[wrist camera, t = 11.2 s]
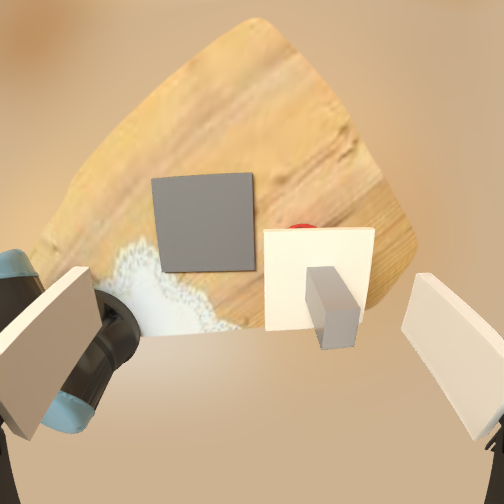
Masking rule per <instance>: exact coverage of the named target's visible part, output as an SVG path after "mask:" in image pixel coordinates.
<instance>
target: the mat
mask: <svg viewBox="0 0 504 504" xmlns="http://www.w3.org/2000/svg"><path fill="white" fill-rule="evenodd" d="M151 183H152V194H153V205H154V214H155V223H156V232H157V240H158V247H159V254H160V261H161V268H162V272H197V271H240V270H255V263H254V225H253V189H252V173H227V174H207V175H191V176H178V177H166V178H154V179H151Z"/></svg>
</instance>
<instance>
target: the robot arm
mask: <svg viewBox="0 0 504 504" xmlns="http://www.w3.org/2000/svg"><path fill="white" fill-rule="evenodd" d="M401 330H402V332H403V333H404V334H405V336H406V337H407V339H408V340H409V342H410V343H411V344H412V346H413V347H414V349H415V350H416V352H417V353H418V354H419V356H420V357H421V359H422V360H423V362H424V363H425V364H426V366H427V368H428V369H429V371H430V372H431V373H432V375H433V376H434V378H435V380H436V381H437V383H438V384H439V386H440V387H441V389H442V390H443V392H444V393H445V395H446V397H447V398H448V400H449V401H450V403H451V404H452V406H453V407H454V409H455V411H456V412H457V414H458V416H459V417H460V419H461V421H462V422H463V424H464V426H465V427H466V429H467V431H468V433H469V434H470V436H471V438H472V439H473V441H475V440H477V439H479V438H481V437H483V436H485V435H487V434H489V433H490V431H491V430H492V429H493V428H494V426H495V425H496V424H497V422H498V421H499V423H500V424H501V426H502V427H501V428H500V429H499V430H498V432H497V433H496V434H495V435H494V437H493V438H492V439H491V440H490V441H489V442H488V444H487V445H486V447H485V450H488V449H489V447H490V446H491V445H492V444H493V443H494V442H496V444H495V445H494V447H493V448H492V449H491V451H493V452H494V458H493V465H492V470H491V476H490V481H489V485H488V490H487V494H486V498H485V502H484V504H504V338H502V337H501V336H500V335H499V334H498V333H497V332H496V331H495V330H494V329H493V328H492V327H491V326H490V325H489V324H488V323H487V322H486V321H484V320H483V319H482V318H481V317H480V316H479V315H478V314H477V313H476V312H475V311H474V310H473V309H472V308H470V307H469V306H468V305H467V304H466V303H465V302H464V301H463V300H461V299H460V298H459V297H458V296H457V295H456V294H455V293H454V292H452V291H451V290H450V289H449V288H448V287H446V286H445V285H444V284H443V283H442V282H441V281H439V280H438V279H437V278H436V277H435V276H433V275H432V274H431V273H416V277H415V281H414V285H413V289H412V293H411V296H410V300H409V304H408V307H407V311H406V314H405V317H404V321H403V324H402V327H401ZM139 341H140V331H139V327H138V324H137V322H136V320H135V318H134V316H133V315H132V313H131V312H130V311H129V309H128V308H127V307H126V306H125V305H124V304H123V303H122V302H121V301H119V300H118V299H117V298H115V297H114V296H112V295H110V294H108V293H105V292H103V291H99V290H94V287H93V282H92V277H91V272H90V267H78V266H75V267H73V268H72V269H71V270H70V271H68V272H67V273H66V274H65V275H64V276H62V277H61V278H60V279H59V280H58V281H57V282H55V283H54V284H53V285H52V286H51V287H50V288H48V289H47V290H46V291H45V289H44V287H43V285H42V283H41V281H40V279H39V275H38V273H37V272H35V270H34V268H33V266H32V265H31V263H30V261H29V259H28V257H27V255H26V254H25V253H24V252H23V251H21V250H19V249H12V250H9V251H5V252H3V253H0V504H21V503H20V500H19V497H18V493H17V490H16V486H15V482H14V478H13V474H12V469H11V465H10V461H9V455H8V450H7V443H6V437H5V433H4V430H3V429H2V428H1V425H2V424H3V422H5V423H6V424H7V426H8V427H9V428H10V430H11V431H12V432H13V433H14V434H16V435H18V436H20V437H22V438H24V439H26V440H28V441H30V440H31V438H32V437H33V435H34V433H35V431H36V429H37V428H38V426H39V424H40V423H42V424H44V425H45V426H47V427H50V428H52V429H54V430H57V431H60V432H64V433H70V434H75V433H79V432H82V431H83V430H84V429H85V428H86V426H87V425H88V423H89V421H90V420H91V418H92V417H93V416H94V414H95V410H96V408H97V406H98V403H99V401H100V399H101V397H102V395H103V393H104V391H105V389H106V386H107V384H108V382H109V380H110V378H111V376H112V374H113V372H114V371H115V370H116V369H118V368H119V367H120V366H121V365H122V364H123V363H125V362H126V361H128V360H129V359H130V358H131V357H132V356H133V354H134V353H135V351H136V349H137V347H138V345H139Z"/></svg>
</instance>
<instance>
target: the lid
mask: <svg viewBox="0 0 504 504" xmlns="http://www.w3.org/2000/svg"><path fill="white" fill-rule="evenodd" d="M374 234H375V229H373V228H372V227H345V228H293V229H263V241H264V302H265V331H276V330H295V329H310V328H315V331H316V334H317V337H318V340H319V344H320V346H321V350H328V349H337V348H347V347H354V344H355V339H356V334H357V328H358V324H362V321H363V315H364V310H365V304H366V298H367V291H368V284H369V277H370V270H371V262H372V253H373V244H374Z"/></svg>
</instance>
